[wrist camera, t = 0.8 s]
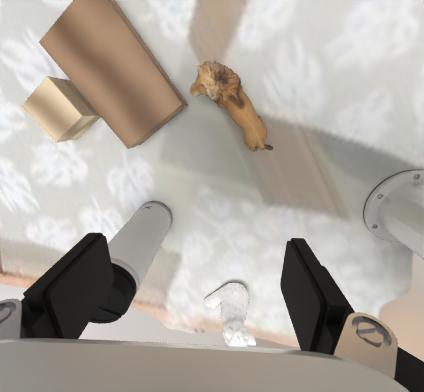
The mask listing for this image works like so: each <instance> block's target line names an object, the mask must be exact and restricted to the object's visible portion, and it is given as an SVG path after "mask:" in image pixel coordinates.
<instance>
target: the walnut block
mask: <svg viewBox="0 0 424 392" xmlns="http://www.w3.org/2000/svg"><path fill="white" fill-rule="evenodd" d="M39 43H40V44H41V45H42V47H43V48H44V49H45V50H46V51H47V53H48V54H49V55H50V56H51V57H52V59H53V60H54V61H55V62H56V63H57V65H58V66H59V67H60V68H61V69H62V70H63V72H64V73H65V74H66V75H67V76H68V78H69V79H70V80H71V81H72V82H73V84H74V85H75V86H76V87H77V88H78V90H79V91H80V92H81V93H82V94H83V96H84V97H85V98H86V99H87V100H88V102H89V103H90V104H91V105H92V106H93V108H94V109H95V110H96V111H97V112H98V114H99V115H100V116H101V117H102V118H103V120H104V121H105V122H106V123H107V124H108V126H109V127H110V128H111V129H112V130H113V131H114V133H115V134H116V135H117V136H118V137H119V139H120V140H121V141H122V142H123V143H124V145H125V146H126V147H127V148H128V149H129V148H132V147H135V146H137V145H140V144H141V143H143V142H144V141H145V140H146V139H148V138H149V137H150V136H151V135H152V134H154V133H155V132H156V131H157V130H158V129H160V128H161V127H162V126H163V125H164V124H166V123H167V122H168V121H169V120H171V119H172V118H173V117H174V116H175V115H177V114H178V113H179V112H180V111H181V110H183V109H184V108H185V107H186V106H188V104H187V103H186V101H185V100H184V99H183V97H182V96H181V94H180V93H179V91H178V90H177V89H176V87H175V86H174V84H173V83H172V81H171V80H170V79H169V77H168V76H167V74H166V73H165V72H164V70H163V69H162V67H161V66H160V64H159V63H158V62H157V60H156V59H155V57H154V56H153V54H152V53H151V52H150V50H149V49H148V47H147V46H146V44H145V43H144V42H143V40H142V39H141V37H140V36H139V34H138V33H137V32H136V30H135V29H134V27H133V26H132V25H131V23H130V22H129V20H128V19H127V17H126V16H125V15H124V13H123V12H122V10H121V9H120V7H119V6H118V5H117V3H116V2H115V0H73V1H72V3H71V4H70V5H69V6H68V7H67V9H66V10H65V11H64V12H63V13H62V15H61V16H60V17H59V18H58V20H57V21H56V22H55V23H54V24H53V26H52V27H51V28H50V29H49V31H48V32H47V33H46V34H45V35H44V37H43V38H42V39H41V40H40V41H39Z"/></svg>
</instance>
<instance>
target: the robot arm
mask: <svg viewBox="0 0 424 392" xmlns="http://www.w3.org/2000/svg"><path fill="white" fill-rule="evenodd" d="M364 218H365V223H366V225H367V227H368V228H369V229H370V231H371V232H372V233H374V234H375V235H376V236H377V237H379V238H381V239H383V240H386V241H390V242H401V243H403V244H404V245H405V246H407V247H408V248H409V249H411V250H412V251H413V252H415V253H416V254H417V255H419V256H420V257H421V258H423V259H424V171H422V170H412V171H407V172H402V173H399V174H397V175H394V176H392V177H390V178H389V179H387V180H385V181H384V182H383V183H381V184H380V185H379V186H378V187H377V188H376V189H375V190H374V191H373V192H372V194H371V195H370V197H369V199H368V201H367V203H366V206H365V210H364ZM113 282H114V273H113V268H112V263H111V258H110V254H109V249H108V244H107V239H106V237H105V236H103V234H102V233H88V234H87V235H86V236H85V237H84V238H83V239H82V240H80V241H79V242H78V243H77V244H76V245H75V246H74V247H73V248H72V249H71V250H70V251H69V252H67V253H66V254H65V255H64V256H63V257H62V258H61V259H60V260H59V261H58V262H57V263H56V264H54V265H53V266H52V267H51V268H50V269H49V270H48V271H47V272H46V273H45V274H44V275H43V276H42V277H40V278H39V279H38V280H37V281H36V282H35V283H34V284H33V285H32V286H31V287H30V288H29V289H27V291H25V292H24V293H23V294H24V296H25V298H24V299H22V301H19V300H18V299H6V300H3V301H0V392H424V362H423V361H421V360H419V359H418V358H416V357H414V356H413V355H411V354H409V353H408V352H406V351H404V350H403V349H401V348H399V347H398V342H397V338H396V337H395V335H394V333H393V332H392V331H391V330H390V328H389V327H388V326H387V325H385V324H384V323H383V322H382V321H380V320H378V319H377V318H375V317H373V316H371V315H368V314H365V313H360V312H358V313H355V311H354V310H353V308H352V307H351V305H350V304H349V302H348V301H347V299H346V298H345V296H344V295H343V293H342V292H341V290H340V289H339V287H338V286H337V284H336V283H335V281H334V280H333V278H332V277H331V275H330V273H329V272H328V270H327V269H326V268H325V267H324V266H321V264H320V263H319V261H318V260H317V258H316V256H315V255H314V253H313V252H312V250H311V249H310V247H309V245H308V244H307V242H306V241H305V239H303V238H292V239H291V241H287V245H286V251H285V257H284V264H283V270H282V276H281V291H282V294H283V297H284V300H285V303H286V306H287V309H288V312H289V315H290V318H291V321H292V324H293V327H294V330H295V333H296V336H297V339H298V342H299V345H300V348H301V351H299V350H285V349H272V348H257V347H238V346H218V345H199V344H178V343H157V342H156V343H154V342H135V341H110V340H85V339H84V340H83V339H78V338H79V337H80V335H81V334H82V332H83V330H84V329H85V327H86V326H87V324H88V322H89V321H90V319H91V318H92V316H93V315H94V313H95V311H96V310H97V308H98V307H99V305H100V303H101V302H102V300H103V299H104V297H105V295H106V294H107V292H108V291H109V289H110V287H111V286H112V284H113Z"/></svg>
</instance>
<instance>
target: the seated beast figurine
mask: <svg viewBox="0 0 424 392" xmlns="http://www.w3.org/2000/svg"><path fill="white" fill-rule="evenodd" d="M247 292H248V291H247V290H246V288H245V287H244V285H241V284H240V283H228V284H227V285H225V286H223V287H222V288H220V289H219V290H217V291H215V292H214V293H213V294H211V295H209V296H208V297H207V298H206V299H205V300H204V305H205V306H207V307H208V308H214V307H217V305H219V304H221V305H220V306H221V314H220V316H219V317H220V318H221V319H222V321H223V323H224V326H225V328H224V329H223V333H222V335H223V336H224V340H225V341H226V344H228V345H229V346H238V347H248V345H256V341H255V337H254V335H251V334H250V330H249V329H247V328H246V327H245V325H244V324H243V323H244V320H245V319H246V317H245V316H246V315H247V306H248V304H249V301H248V300H249V295H248V293H247Z"/></svg>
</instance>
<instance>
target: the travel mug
mask: <svg viewBox="0 0 424 392" xmlns="http://www.w3.org/2000/svg"><path fill="white" fill-rule="evenodd" d="M171 223H172V214H171V212H170V210H169V209H168V208H167V207H166V206H165V205H164V204H162V203H160V202H155V201H152V202H147V203H145V204H144V205H143V206H142V207H141V208H140V209H139V210H138V211H137V212H136V213H135V214H134V215H133V217H132V218H131V219H130V220H129V221H128V222H127V223H126V224H125V225H124V227H123V228H122V229H121V230H120V231H119V232H118V233H117V234H116V235H115V236H114V238H113V239H112V240H111V241H110V242H109V243H108V249H109V254H110V258H111V263H112V268H113V273H114V282H113V284H112V286H111V287H110V289H109V291H108V292H107V294H106V295H105V297H104V299H103V300H102V302H101V303H100V305H99V307H98V308H97V310H96V311H95V313H94V315H93V316H92V318H91V319H90V321H89V322H92V323H111V322H114V321H116V320H118V319H119V318H121V316H122V315H124V314H125V313H126V311H127V310H128V308H129V306H130V304H131V302H132V300H133V298H134V296H135V295H136V293H137V291H138V289H139V287H140V285H141V283H142V281H143V279H144V277H145V275H146V273H147V271H148V269H149V267H150V265H151V263H152V261H153V259H154V257H155V255H156V253H157V251H158V249H159V247H160V245H161V243H162V241H163V239H164V237H165V235H166V233H167V231H168V229H169V227H170V225H171Z"/></svg>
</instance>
